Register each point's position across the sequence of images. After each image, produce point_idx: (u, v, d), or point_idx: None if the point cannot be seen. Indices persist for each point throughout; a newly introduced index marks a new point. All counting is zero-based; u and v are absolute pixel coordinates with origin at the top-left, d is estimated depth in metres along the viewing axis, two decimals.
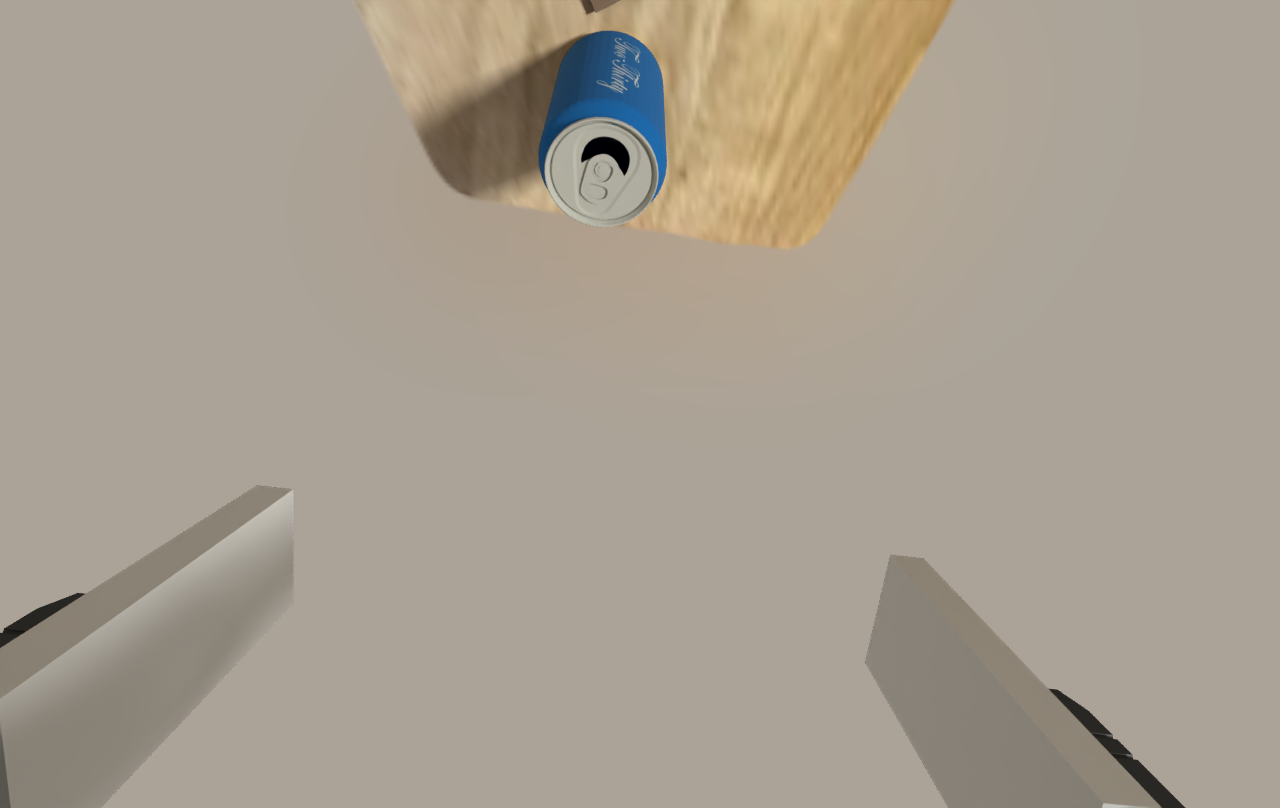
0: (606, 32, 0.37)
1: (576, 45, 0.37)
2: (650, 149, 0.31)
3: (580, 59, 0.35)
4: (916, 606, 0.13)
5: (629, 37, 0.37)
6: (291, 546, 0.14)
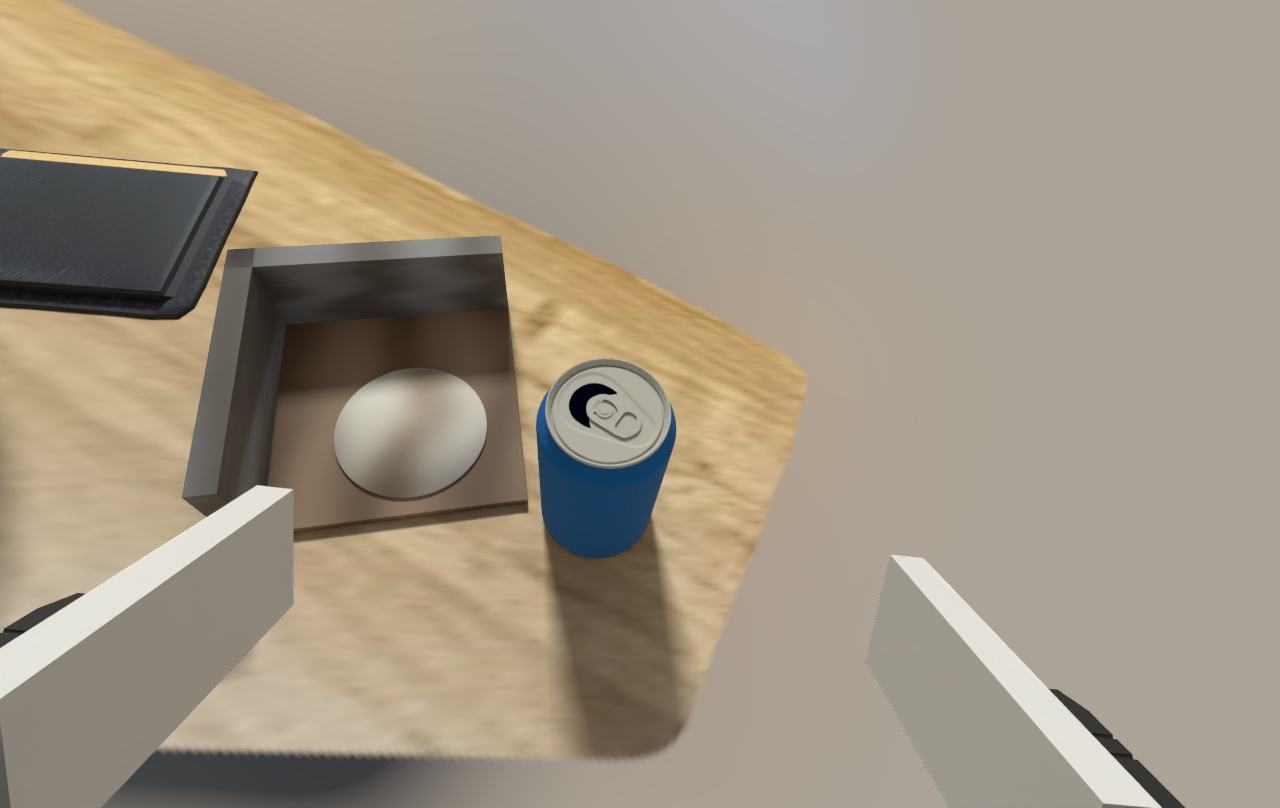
0: None
1: (543, 516, 0.37)
2: (594, 359, 0.30)
3: (540, 486, 0.34)
4: (916, 606, 0.13)
5: None
6: (290, 546, 0.14)
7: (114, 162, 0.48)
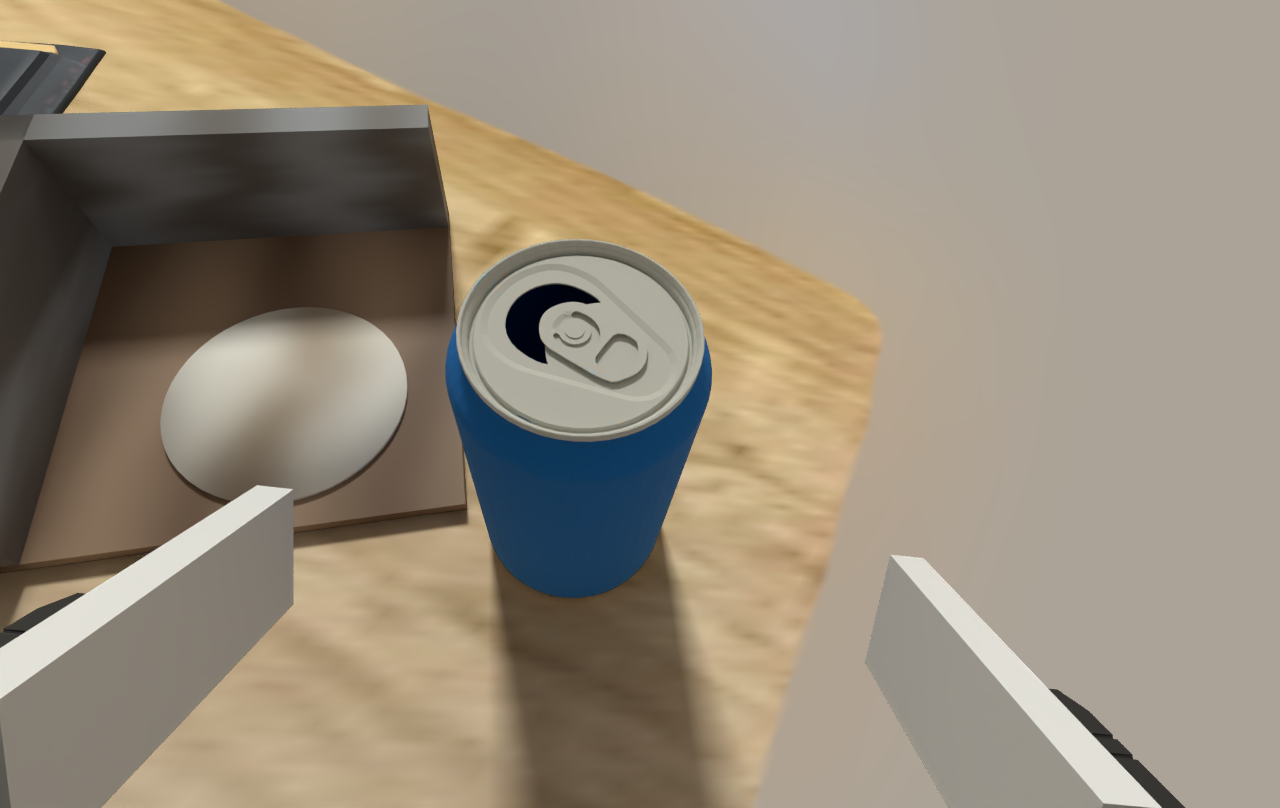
0: None
1: None
2: (556, 241, 0.16)
3: None
4: (916, 606, 0.13)
5: None
6: (291, 546, 0.14)
7: None
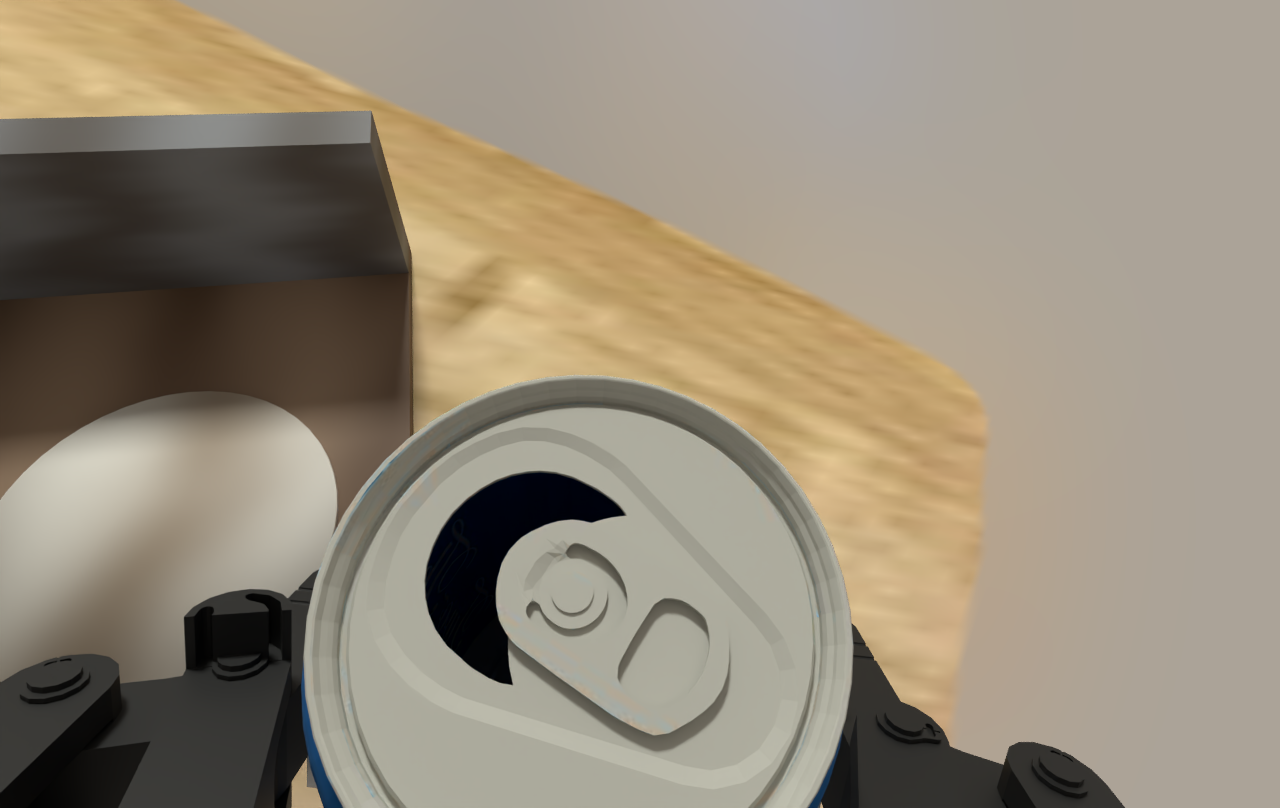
0: None
1: None
2: (537, 381, 0.08)
3: None
4: None
5: (476, 632, 0.17)
6: None
7: None
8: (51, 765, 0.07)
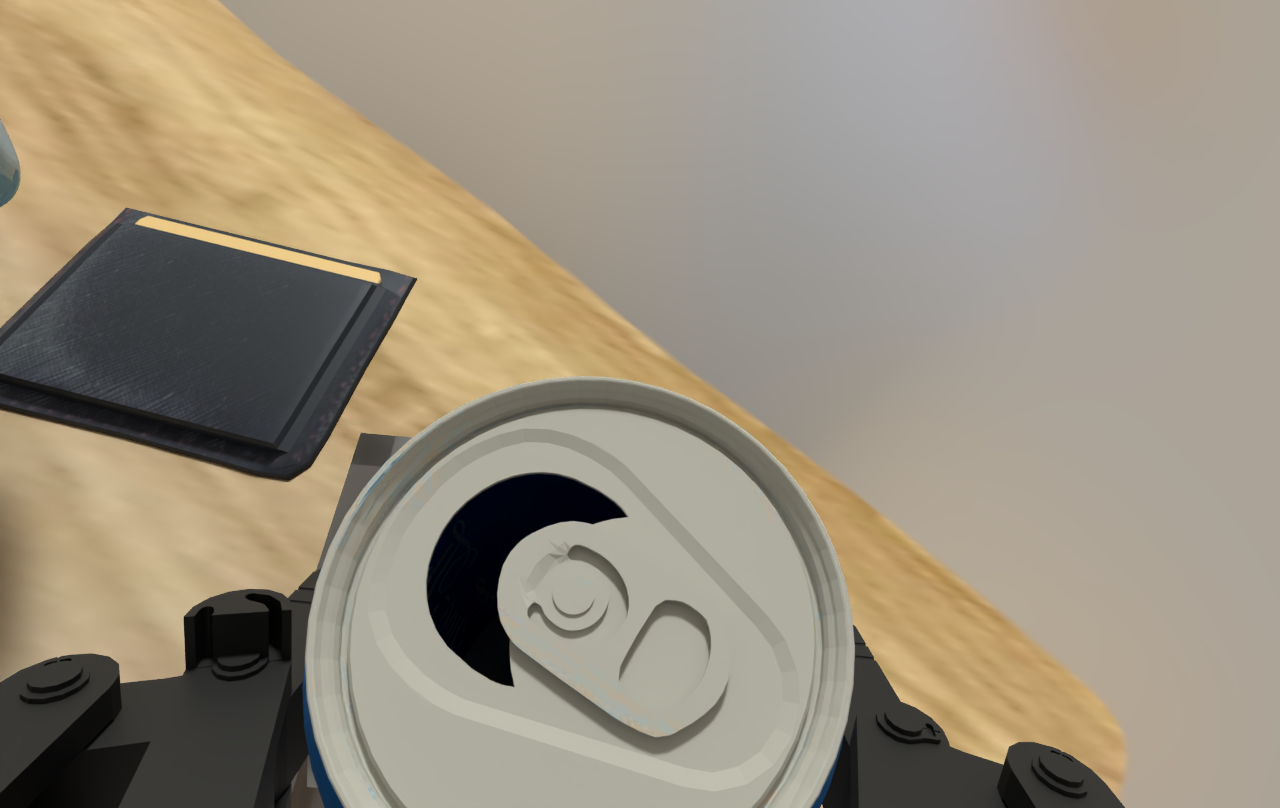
0: None
1: None
2: (539, 383, 0.08)
3: None
4: None
5: (477, 632, 0.17)
6: None
7: (257, 246, 0.40)
8: (51, 765, 0.07)
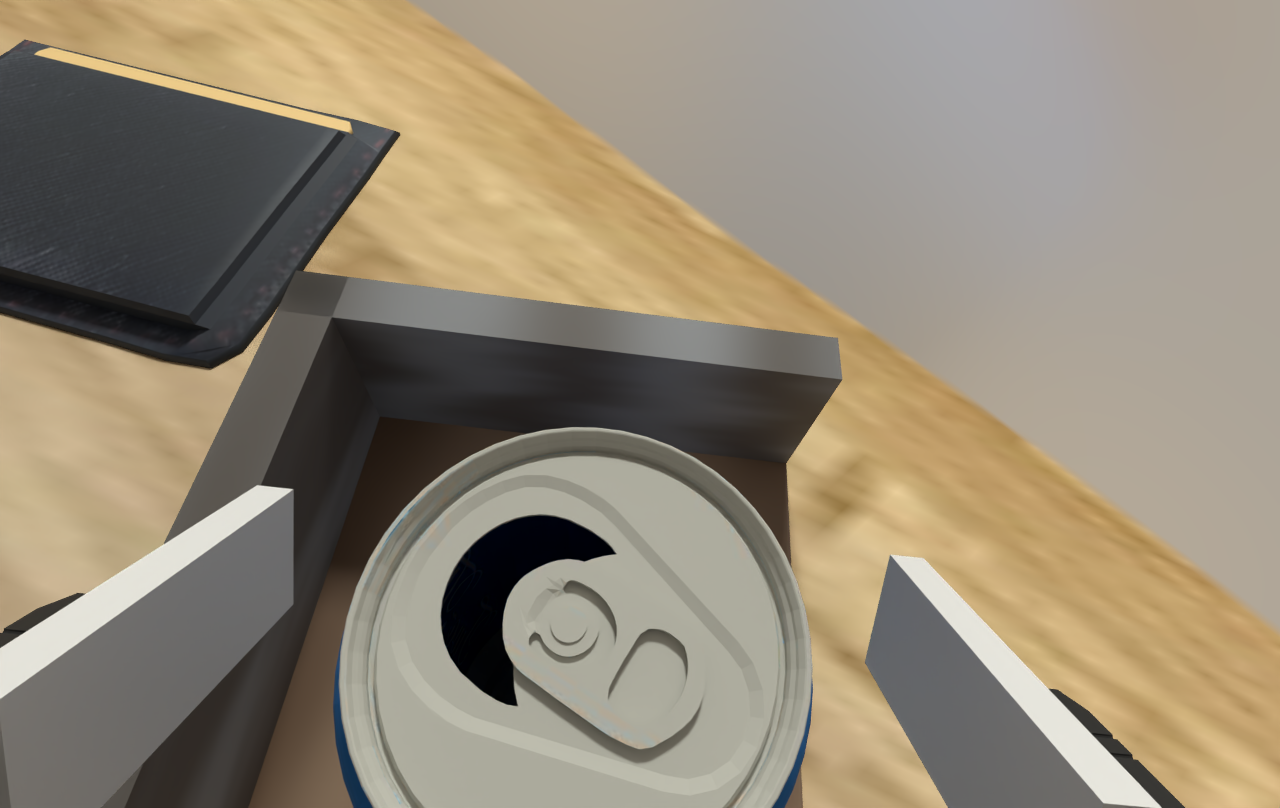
0: None
1: None
2: (537, 434, 0.09)
3: None
4: (916, 606, 0.13)
5: (482, 644, 0.18)
6: (291, 546, 0.14)
7: (191, 86, 0.30)
8: None
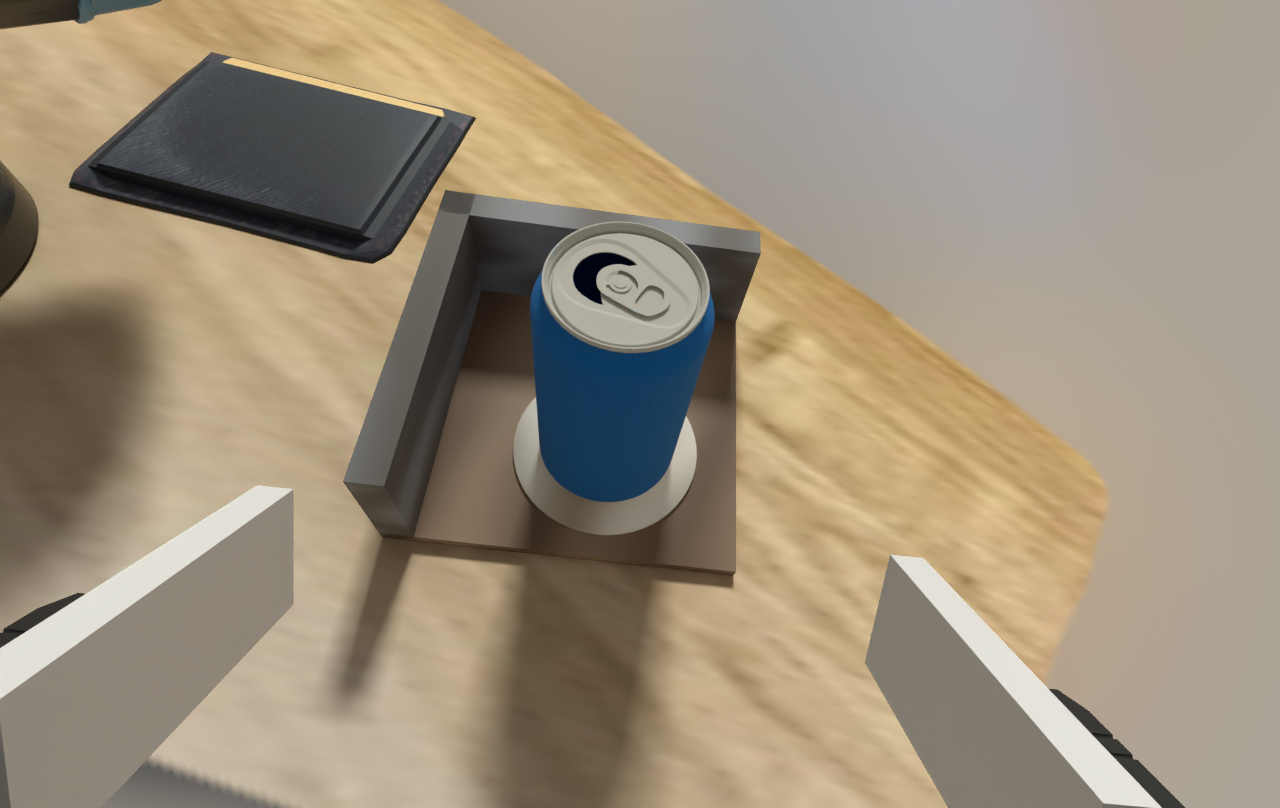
0: None
1: (541, 451, 0.29)
2: (605, 223, 0.23)
3: (537, 407, 0.27)
4: (916, 606, 0.13)
5: None
6: (290, 547, 0.14)
7: (332, 85, 0.44)
8: None
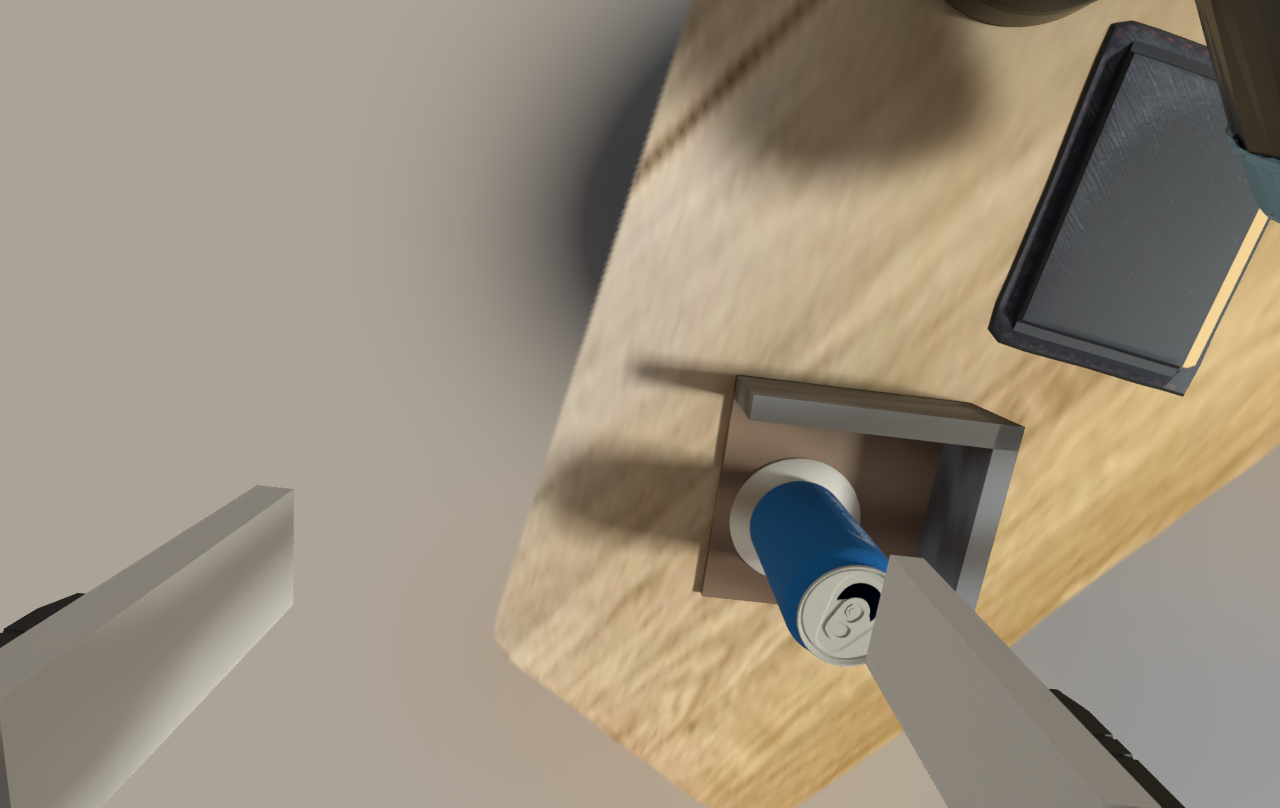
0: (813, 483, 0.42)
1: (787, 487, 0.42)
2: None
3: (807, 503, 0.39)
4: (916, 606, 0.13)
5: (830, 492, 0.42)
6: (291, 546, 0.14)
7: (1248, 247, 0.41)
8: None
